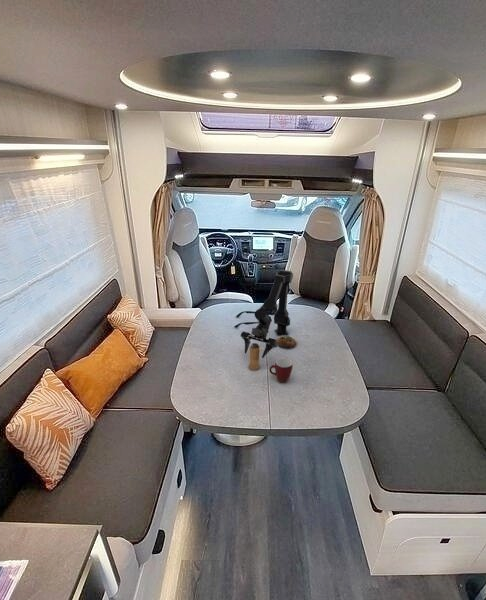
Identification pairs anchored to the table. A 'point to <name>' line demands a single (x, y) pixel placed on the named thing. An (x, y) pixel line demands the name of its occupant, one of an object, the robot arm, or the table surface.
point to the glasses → (245, 322)
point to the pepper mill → (254, 356)
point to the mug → (282, 369)
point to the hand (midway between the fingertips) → (253, 355)
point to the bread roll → (286, 342)
